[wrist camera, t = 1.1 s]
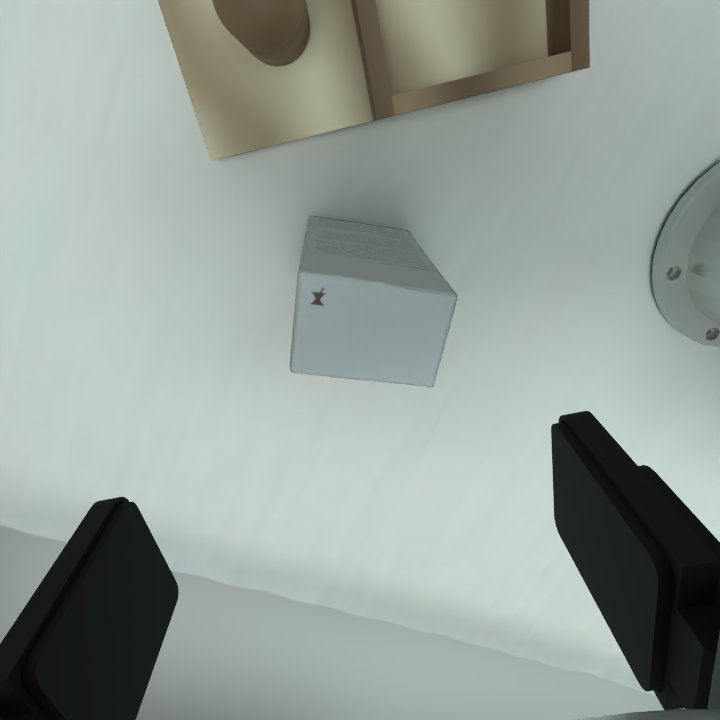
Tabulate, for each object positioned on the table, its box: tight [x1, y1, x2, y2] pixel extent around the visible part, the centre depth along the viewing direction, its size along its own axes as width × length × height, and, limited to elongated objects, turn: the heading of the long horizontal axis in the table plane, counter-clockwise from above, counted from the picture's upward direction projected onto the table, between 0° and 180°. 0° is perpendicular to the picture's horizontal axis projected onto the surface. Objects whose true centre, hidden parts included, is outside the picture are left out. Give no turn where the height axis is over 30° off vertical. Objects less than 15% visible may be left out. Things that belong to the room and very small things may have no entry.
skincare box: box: [290, 216, 458, 387], centre depth 24 cm, size 6×4×12 cm
